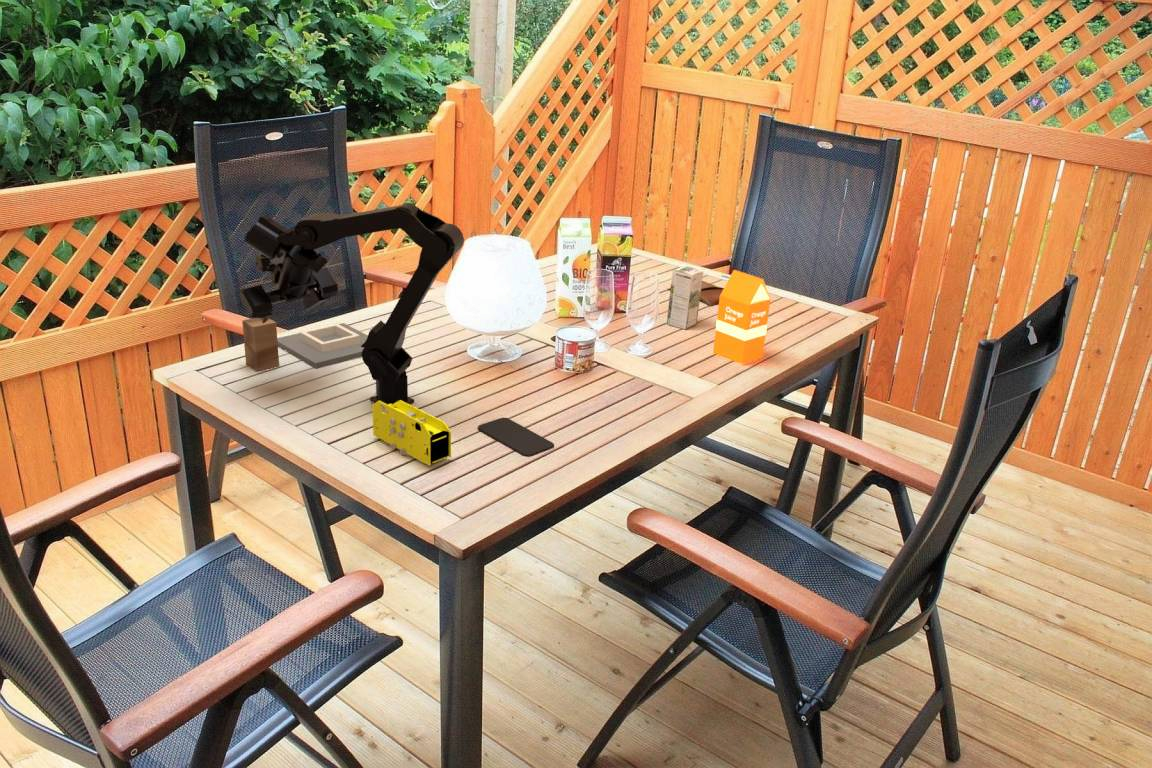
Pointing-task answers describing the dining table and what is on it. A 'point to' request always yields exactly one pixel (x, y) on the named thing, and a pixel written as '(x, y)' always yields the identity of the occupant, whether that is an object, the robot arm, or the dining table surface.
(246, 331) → the walnut block
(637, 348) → the dining table surface
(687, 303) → the syrup box
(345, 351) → the socket plate
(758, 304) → the orange juice
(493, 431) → the phone
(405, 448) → the yellow toy chassis
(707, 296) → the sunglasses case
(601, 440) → the dining table surface
